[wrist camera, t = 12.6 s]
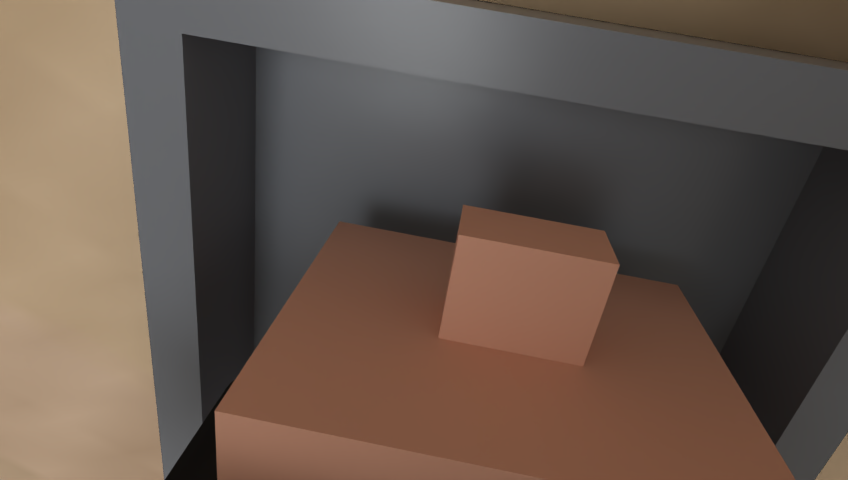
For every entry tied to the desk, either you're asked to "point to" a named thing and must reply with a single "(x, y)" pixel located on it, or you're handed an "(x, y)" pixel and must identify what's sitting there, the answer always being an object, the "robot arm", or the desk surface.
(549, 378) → the ring
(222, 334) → the tray
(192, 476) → the robot arm
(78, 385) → the desk surface
